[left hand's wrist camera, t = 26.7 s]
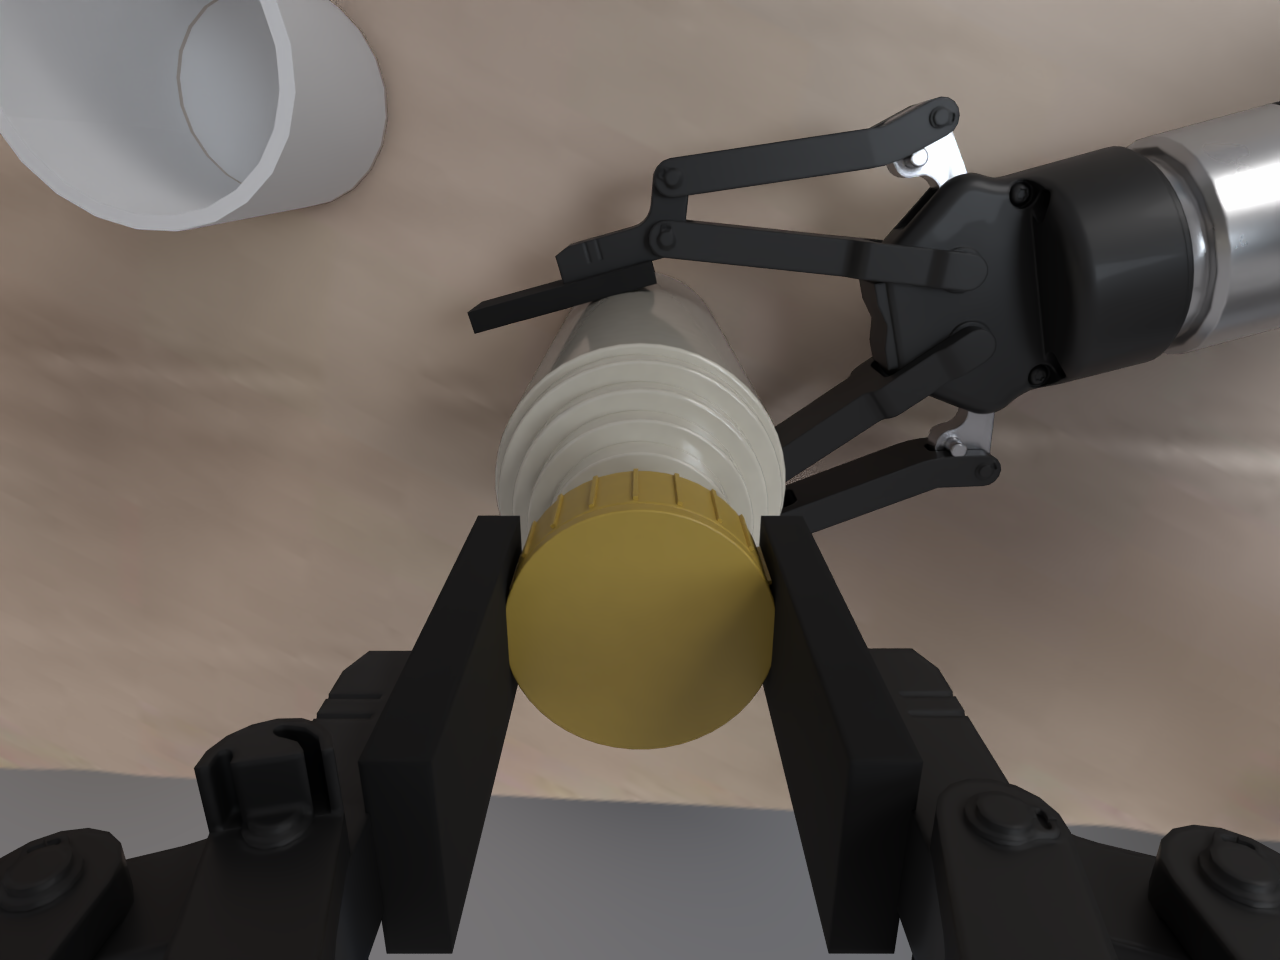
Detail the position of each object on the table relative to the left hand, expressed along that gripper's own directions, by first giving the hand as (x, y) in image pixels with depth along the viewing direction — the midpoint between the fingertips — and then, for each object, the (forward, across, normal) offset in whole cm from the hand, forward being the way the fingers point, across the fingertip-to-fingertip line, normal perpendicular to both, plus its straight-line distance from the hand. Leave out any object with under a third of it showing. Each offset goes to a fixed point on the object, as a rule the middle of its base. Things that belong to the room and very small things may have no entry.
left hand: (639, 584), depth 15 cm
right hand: (+16, -5, -1) cm, 16 cm away
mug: (+22, -14, +11) cm, 28 cm away
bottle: (+22, 0, 0) cm, 22 cm away
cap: (-2, 0, 0) cm, 2 cm away
